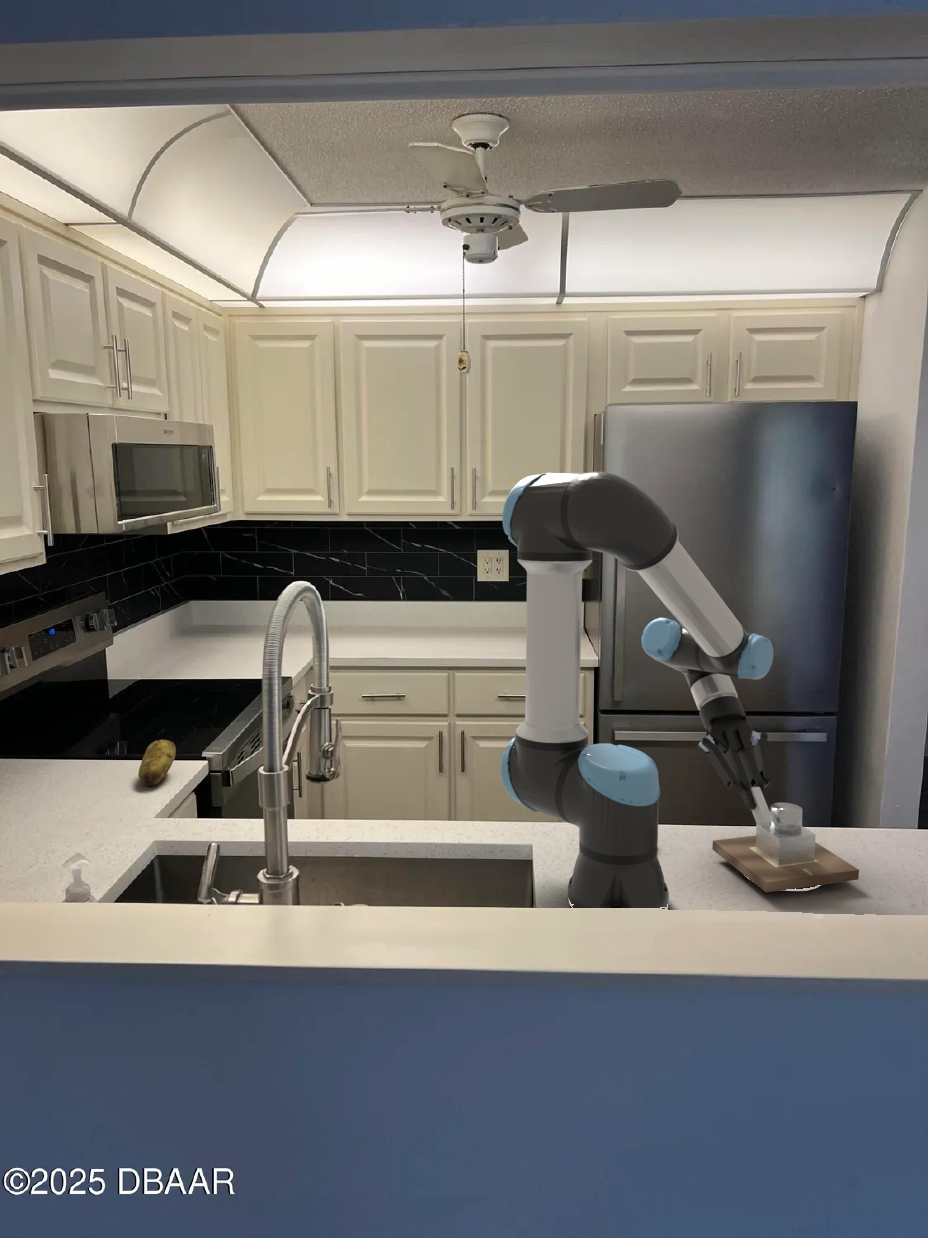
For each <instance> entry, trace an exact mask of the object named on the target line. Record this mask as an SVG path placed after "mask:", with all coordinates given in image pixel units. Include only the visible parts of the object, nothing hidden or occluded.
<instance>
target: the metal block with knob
mask: <svg viewBox="0 0 928 1238" xmlns="http://www.w3.org/2000/svg"><path fill="white" fill-rule="evenodd" d="M769 806H770V807H769V811H770V822H765V823H756V829H755V831H756V832H755V835H756V850H757V851H758V852H760V853H761V854H762V855H764V856H765V857H766V858H768V859H769V860H771V861H772V862H773V863H775V864H776V865H778V866H783V865H790V864H798V863H805V862H813V861H814V857H815V842H816V833H814V832H813V831H811V830H810V829H809V828H806V827H804V826H803V807H801V806H799V805H798V804H794V803H790V802H774V803H772V804H770V805H769Z"/></svg>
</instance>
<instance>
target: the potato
mask: <svg viewBox="0 0 928 1238" xmlns="http://www.w3.org/2000/svg"><path fill="white" fill-rule="evenodd" d="M176 749H177V748H176V745H175V743H174V742H173V741H170V740H168V739H159V740H158V739H156V740H154V741H153V742H151V743H149V745H148V746H147V748H146V750H145V753H144V755H143V757H142V760H141V762H140V766H139V768H138V769H139V770H138V778H139V780H140V782H141V783H142V784H144V785H145V786H148V787H152V786H155V785H157V784H159V783H160V782H162V780H163V779H164V777H165V776H166V774H168V772H169V771H170V769H171V767H172V765H173V763H174V761H175V757H176V751H177V750H176Z"/></svg>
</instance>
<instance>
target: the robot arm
mask: <svg viewBox="0 0 928 1238" xmlns="http://www.w3.org/2000/svg"><path fill="white" fill-rule="evenodd" d="M501 519H502V527H503V532H504V533H505V535H507V536H508V538H507V539H508V540H509V541H510V543H512V544H513V545H514V546H515V547H517V562H518V563H519V565H521V567H523V568H524V569H525V571H526V626H525V627H526V638H525V641H526V642H525V643H526V644H525V708H524V710H525V712H524V713H525V715H524V716H525V718H524V721H522V722H521V724H519V726H518V727H516V729H515V736H514V737H513V738H512V739H511V740H510V741H509V742H508V743H507V745H506V749H507V750H506V751H503V752H502V756H501V760H500V776H501V782H502V785H503V787H504V789H505V791H506V792H507V794H508V795H509V797H510V798H512V799H513V800H514V801H515V802H516V803H518V804H519V805H522V806H524V807H526V808H527V809H528V810H530V811H533V812H538V813H541V814H543V815H546V816H549V817H552V818H555V819H557V820H560V821H562V822H565V823H568V824H571V825H574V826H576V827H577V828H578V831H579V832H578V835H579V836H578V837H579V838H578V839H579V843H578V844H579V845H578V847H579V849H578V850H579V851H578V855H577V856H576V857H577V858H576V860H575V864H574V868H573V872H572V876H571V877H570V878H569V881H568V884H567V899H568V898H569V900H570V902H571V904H574V905H573V906H572V907H573V908H660V907H667V904H668V902H669V903H670V893H669V892H670V891H669V887H668V885H667V883H666V882H665V877H664V873H663V869H662V866H661V864H660V863H661V862H660V860H659V856H658V853H659V852H658V847H659V846H658V843H659V840H658V839H659V807H660V806H659V805H660V804H659V803H660V801H659V800H660V795H661V788H660V784H659V771H658V768H657V767H658V766H657V764H656V762H655V761H654V760H653V759H652V758H651V757H650V756H649V755H647V754H646V753H644V752H643V751H640V750H639V749H637V748H634V747H630V746H627V745H623V744H618V745H617V744H616V745H615V744H613V743H608V742H607V743H605V742H604V743H595V744H591V745H589V730H588V729H587V728H586V727H585V726H584V725H583V724H582V723H581V721H580V698H581V697H580V696H581V695H580V694H581V693H580V690H581V654H582V653H581V648H582V647H581V646H582V645H581V644H582V643H581V642H582V641H581V640H582V637H581V636H582V601H583V600H582V598H583V597H582V596H583V595H582V594H583V591H582V590H583V573H584V571H585V569H587V567H588V566H589V565H591V563H592V562H593V552H598V553H599V552H600V553H603V554H607V555H610V556H611V557H613V558H615V559H616V560H617V561H619V563H620V564H621V565H622V566H623V567H624V568H626V569H627V570H629V571H632V572H637V573H638V574H639V576H640V577H641V579H643V581H644V582H645V583H646V584H647V585H648V587H650V589H651V590H652V592H654V594H655V595H656V597H658V599H659V600H661V602H662V604H663V605H664V606H665V607H666V608H667V609H668V611H669V612H670V613H671V614H672V615H673V617H674V618H675V619H676V620H677V621H678V622H677V621H676V620H672V619H669V618H667V617H658V618H655V619H653V620H652V621H650V622H648V623H647V625H646V626H645V628H644V629H643V631H642V635H641V646H642V649H643V651H644V653H645V654H647V655H648V657H651V658H652V659H653V660H655V661H656V662H659V663H661V664H663V665H666V666H667V667H670V668H672V669H674V670H676V671H677V672H678V673H681V674H683V675H684V677H685V679H686V681H687V684H688V687H689V690H690V692H691V695H692V697H693V700H694V703H695V705H696V707H697V710H698V711H699V712H698V713H699V716H700V719H701V722H702V724H703V726H704V729H705V730H706V732H705V737H703V738H702V739H701V741H700V742H699V743H698V744H697V748H698V750H700V751H701V752H702V753H703V754H704V755H705V756H706V757H707V759H708V760H709V762H710V764H711V766H712V767H713V768H714V770H715V771H716V773H717V775H718V776H719V778H720V779H721V781H722V783H723V784H724V786H725V788H726V789H727V791H729V792H733V791H735V792H736V795H738V796H739V797H740V796H741V797H742V800H743V802H744V806H745V808H746V809H747V811H751V812H752V815H753V819H754V820H755V823H756V824H757V823H765V822H770V808H769V806H771V801H770V799H769V797H768V793H767V792H766V788H767V786H768V785H770V784H771V782H772V780H773V777H772V771H771V766H770V760H769V754H768V747H767V743H768V738H769V735H768V733H766V731H765V732H761V733H760V732H757V731H755V730H753V727H752V726H751V725H750V723H748V720H747V716H746V715H747V714H746V712H745V709H744V707H743V705H742V702H741V700H740V699H739V697H738V692H737V691H736V687H735V685H734V683H733V681H732V679H731V677H734V678H738V679H747V680H748V679H750V680H761V679H763V678H764V677H765V676H767V674H768V673H769V672H770V669H771V666H772V664H773V659H774V649H773V644H772V642H771V640H770V639H769V638H768V637H766V636H763V635H760V634H758V633H754V632H753V633H748V632H747V631H746V629H745V628H744V627H743V625H742V624H741V623H740V621H739V620H738V618H736V616H735V615H734V613H733V612H732V611H731V610H730V608H729V607H728V605H727V604H726V603H725V601H724V600H723V599H722V597H721V596H720V595H719V593H718V592H717V591H716V589H715V588H714V586H712V584H711V583H710V581H709V580H708V579H707V577H706V576H705V574H704V573H703V572H702V571H701V569H700V568H699V567H698V565H697V563H695V561H694V560H693V559H692V557H691V556H690V555H689V553H688V552H687V551H686V549H685V548H684V546H683V545H682V544H681V542H680V541H679V529H678V528H677V525H676V524H675V523H674V521H673V520H672V518H671V517H670V516H669V515H668V513H667V512H666V511H665V510H664V509H663V508H662V507H661V506H660V504H658V502H656V501H655V500H654V499H653V498H652V497H651V496H650V495H649V494H648V493H646V492H645V490H643V489H641V488H639V487H638V486H637V485H636V484H634V483H632V482H631V481H629V480H628V479H625V478H624V477H621V476H619V475H617V474H614V473H610V472H606V471H590V472H543V473H538V474H533V475H528V476H526V477H524V478H522V479H521V480H519V481H518V482H517V483H516V484H515V486H514V487H513V488H512V489H510V491H509V493H508V495H507V496H506V499H505V502H504V505H503V510H502V518H501ZM750 742H752V744H751V743H750ZM751 745H752V746H753V750H754V751H753V752H754V756H753V753H752V747H751ZM662 909H665V908H662Z"/></svg>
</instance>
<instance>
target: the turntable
mask: <svg viewBox="0 0 928 1238" xmlns="http://www.w3.org/2000/svg"><path fill="white" fill-rule="evenodd" d="M712 851H713V852H715V853H716V854H718V856H720V857H721V858H722V859H724V860H725V861H726V862H728V864H730V865H731V866H732V867H734V868H735V869H736V870H738V871H739V872H740V873H741V874H742V873H743V874H744V875H745V876H746V877H748V878H749V879H750V880H751V881H753V882H754V883H753V882H752V883H753V884H755V885H757V886H758V887H759V888H760V889H761V890H763V892H765V893H770V892H778V891H779V890H786V889H794V888H801V887H808V886H815V885H822V886H823V885H828V884H836V883H837V884H838V883H844V882H851V881H858V880H859V878H860V877H859V876H860V869H858V868H857V867H855V866H853V865H852V864H850V863H849V862H848V861H846V860H844V859H843V858H841V857H839V856H838V855H836V854H835V853H833V852H832V851H830V850H829V849H827V848H825V847H824V846H822V845H820V843H817V842H816V841H815V857H814V861H813V862H805V863H798V864H790V865H783V866H778V865H776V864H775V863H773V862H772V861H771V860H769V859H768V858H766V857H765V856H764V855H762V854H761V853H760V852H758V851H757V850H756V834H754V835H748V836H739V837H732V838H724V839H723V838H722V839H715V840H712ZM750 880H749V881H750ZM751 881H750V882H751Z"/></svg>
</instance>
